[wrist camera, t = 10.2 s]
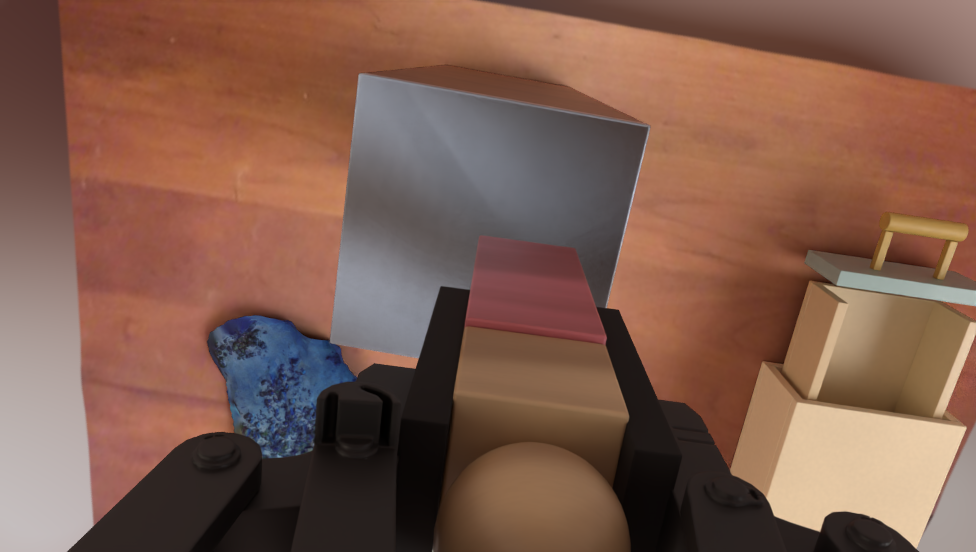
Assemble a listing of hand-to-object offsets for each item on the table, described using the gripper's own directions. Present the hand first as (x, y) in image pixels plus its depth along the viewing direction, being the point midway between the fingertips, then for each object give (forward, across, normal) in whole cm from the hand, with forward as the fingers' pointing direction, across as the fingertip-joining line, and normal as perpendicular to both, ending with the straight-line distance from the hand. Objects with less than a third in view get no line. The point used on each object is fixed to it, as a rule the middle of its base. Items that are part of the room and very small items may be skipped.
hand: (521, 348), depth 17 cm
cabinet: (+40, +31, -23) cm, 56 cm away
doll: (+4, 0, 0) cm, 4 cm away
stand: (+40, -1, +1) cm, 40 cm away
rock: (+40, -17, -25) cm, 50 cm away
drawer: (+39, +31, -10) cm, 51 cm away
